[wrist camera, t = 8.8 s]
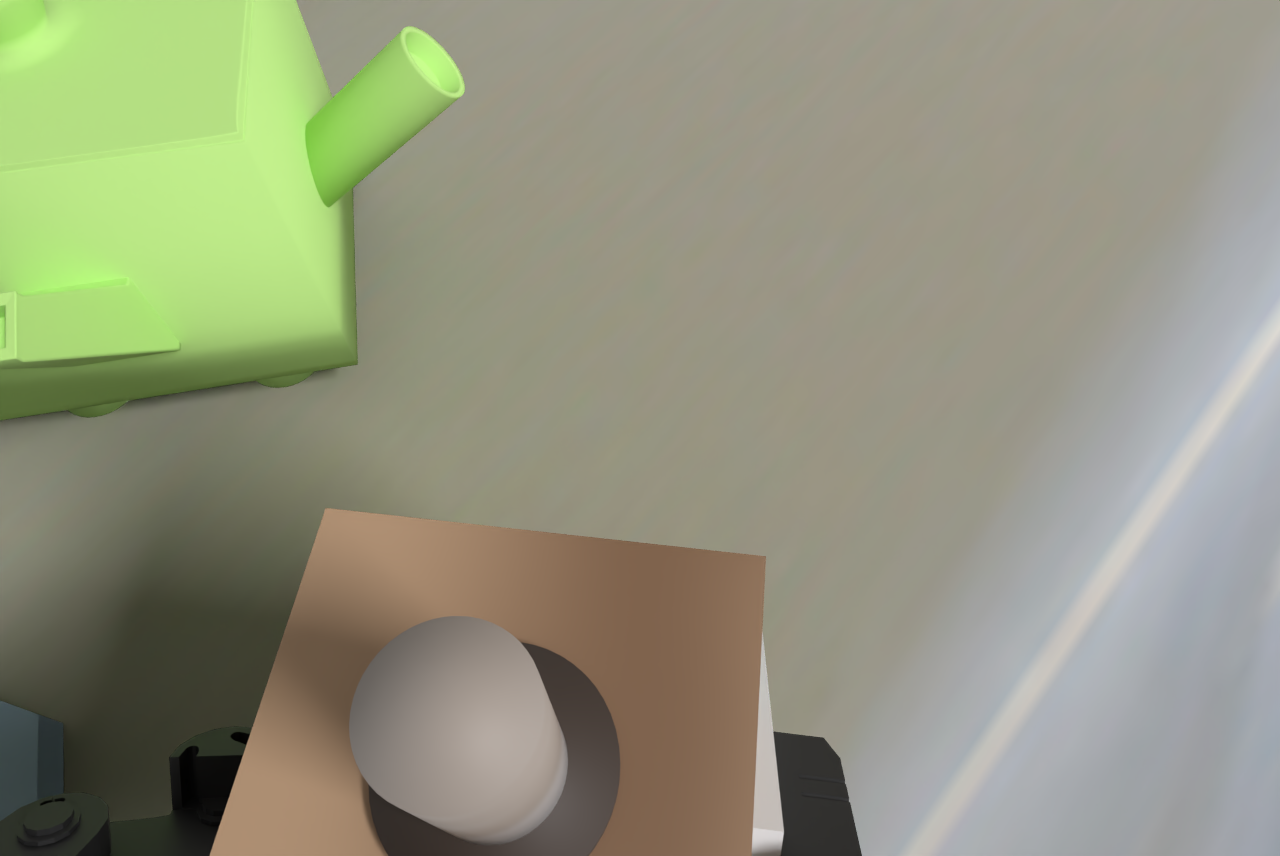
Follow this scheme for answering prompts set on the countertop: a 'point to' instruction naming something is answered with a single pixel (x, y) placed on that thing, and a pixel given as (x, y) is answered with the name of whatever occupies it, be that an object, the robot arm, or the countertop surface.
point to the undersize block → (505, 698)
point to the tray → (28, 758)
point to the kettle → (185, 195)
